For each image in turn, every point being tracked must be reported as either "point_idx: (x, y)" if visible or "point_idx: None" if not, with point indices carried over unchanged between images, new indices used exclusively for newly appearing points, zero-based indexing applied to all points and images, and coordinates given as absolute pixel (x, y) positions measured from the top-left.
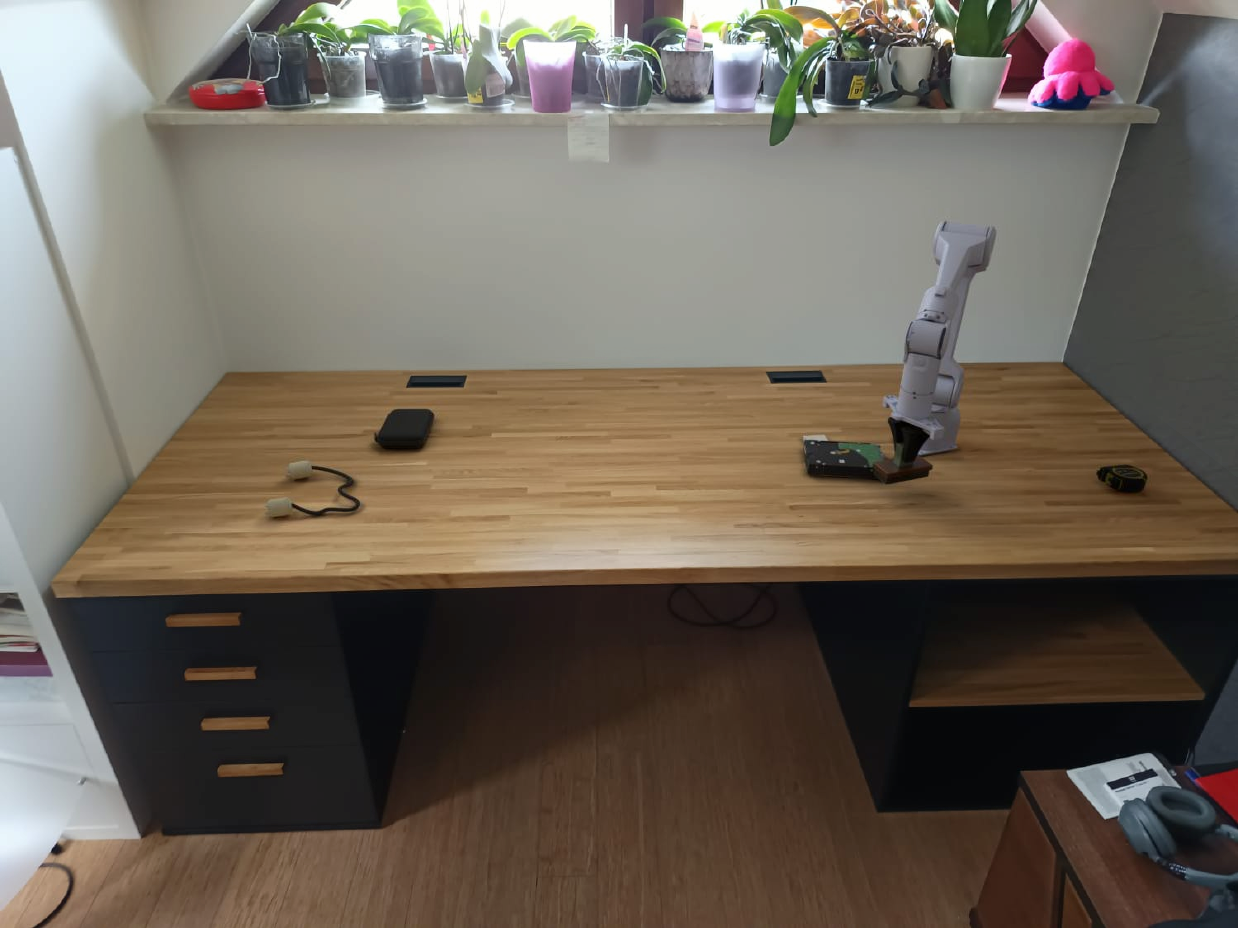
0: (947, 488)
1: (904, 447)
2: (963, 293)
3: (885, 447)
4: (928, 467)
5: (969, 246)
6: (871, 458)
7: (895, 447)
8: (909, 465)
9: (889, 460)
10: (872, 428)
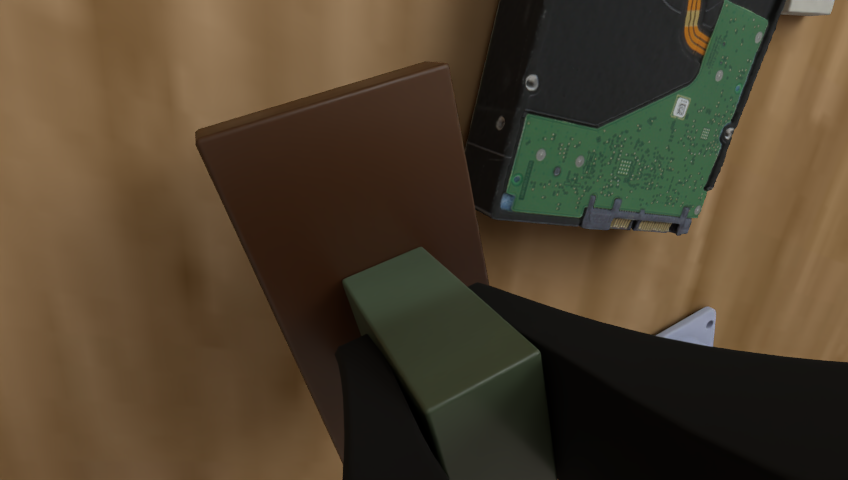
0: None
1: (405, 442)
2: None
3: (678, 260)
4: None
5: None
6: (599, 154)
7: (517, 314)
8: None
9: (459, 224)
10: (781, 242)
